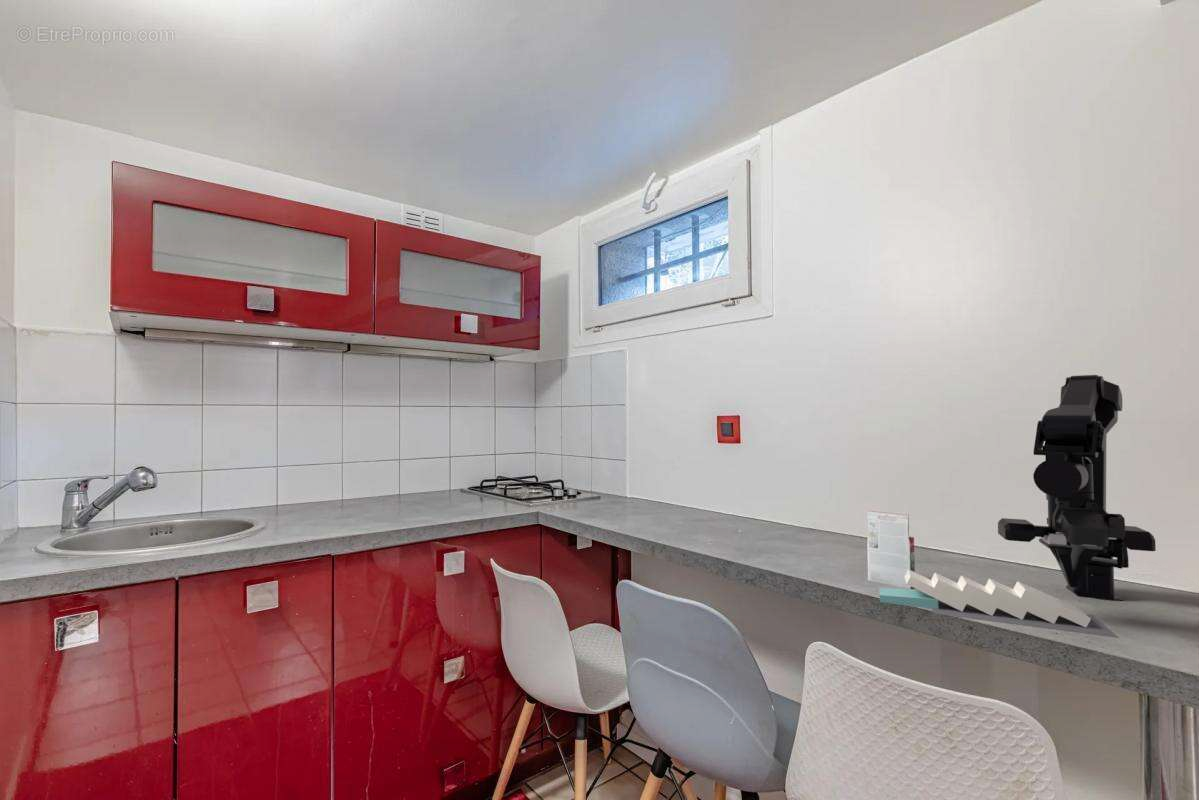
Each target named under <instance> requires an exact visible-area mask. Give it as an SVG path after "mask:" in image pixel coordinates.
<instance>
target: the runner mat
mask: <svg viewBox="0 0 1199 800" xmlns="http://www.w3.org/2000/svg"><path fill="white" fill-rule="evenodd" d="M938 608H939V609H932V608H931V610H932V613H933V614H934V615H940V616H949V617H955V618H963V619H964V618H965V619H969V620H978V621H986V622H987V621H988V622H992V623H993V622H995V623H1000V624H1001V623H1003V624H1010V625H1017V626H1019V625H1020V626H1024V627H1025V626H1027V627H1034V628H1040V629H1049V630H1056V631H1065V632H1072V633H1079V634H1087V635H1095V636H1102V637H1112V638H1118V639H1119V638H1120V636H1118V635H1117V634H1115V632H1113V631H1112V630H1111V629H1110V628H1109V627H1107V626H1106V625H1105V624H1104V623H1103V622H1101V621H1100V620H1099V619H1098V618H1097V617H1096V616H1094V615H1093V614H1086V613H1085V614H1086V615H1087V616H1088V617H1089V618H1090V619H1091V620H1090V622H1089V623H1088V625H1087V627H1083V626H1081V625H1079V624H1077V623H1075V622H1072V621H1070V620H1068V619H1066V618H1064V617H1062V616H1058V618H1057V620H1056V622H1055V623H1054V624H1053V623H1051V622H1049V621H1047V620H1045V619H1043V618H1040V617H1038V616H1036V615H1034V614H1032V613H1030V612H1026V614H1025V616H1024V618H1023V620H1021V619H1019V618H1017V617H1015V616H1013V615H1011V614H1009V613H1007V612H1005V611H1003V610H1001V609H998V608H996V610H995V612H994V614H993V616H991V615H989V614H987V613H985V612H983V611H981V610H979V609H977V608H975V607H973V606H971V605H969V604H966V606H965V608H964V610H963V611H960V610H958V609H956V608H954V607H952V606H950V605H948V604H946V603H944V602H942V601H940V600H938Z"/></svg>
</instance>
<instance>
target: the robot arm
mask: <svg viewBox="0 0 1199 800" xmlns="http://www.w3.org/2000/svg"><path fill="white" fill-rule="evenodd" d="M1122 411H1123V394H1122V390H1121V387H1120V386H1119V385H1118V384H1116V383H1112V382H1111V381H1110V382H1109V381H1107V380H1105V379H1104V376H1102V375H1098V374H1084V375H1081V374H1080V375H1071V376H1068V377H1066V378H1065V383H1064V384H1063V385H1062V386H1061V387H1060V402H1059V404H1058V407H1054V408H1051V409H1048V410H1047V411H1046V412H1045V413H1044V414H1043V416H1042V417H1041V418H1042V419H1041V420H1038V421H1037V425H1036V431H1035V438H1034V439H1035V440H1034V446H1033V456H1045V460H1044V461H1042V462H1041V463H1040V464H1039V463H1038V465H1037V466H1036V467H1035V469H1034V472H1033V474H1032V475H1033V481H1034V484H1035V485H1036V487H1037V488H1038V489H1039V490H1040V491H1041V492H1042V493H1044V494H1045V497H1046V498H1045V500H1046V501H1047V517H1046V525H1035V524H1033V523H1032V522H1030V521H1029V520H1027V519H1020V518H1019V519H1018V518H1008V517H1007V518H1006V517H1005V518H1004V517H1002V518H1000V519H999V521H998V522H997V535H999V536H1001V537H1002V538H1003V539H1004V540H1005V541H1010V542H1023V543H1030V542H1032V541H1033V540H1034V539H1036V537H1037V538H1038V542H1039V543H1040V544H1042V545H1044V546H1045V547H1046V548H1048V549H1049V550H1050V552H1051V553H1052V555H1053V557H1054V558H1055V560H1056V562H1057V565H1058V566H1059V568H1060V571H1061V573H1062V574H1063V577H1064V579H1065V581H1066V584H1067V585H1066V586H1065V588H1066V589H1067V590H1069V591H1070V592H1072V593H1073V594H1074V595H1076V596H1077V597H1079V598H1080V597H1081V598H1089V599H1098V600H1099V599H1100V600H1107V601H1108V600H1109V601H1115V602H1124V599H1123V598H1122V597H1120V596H1119V595H1118V594H1116V593H1115V575H1114V573H1115V569H1114V568H1117V569H1121V570H1122V569H1123V568H1124V569H1125V568H1126V569H1128V568H1129V566H1130V564H1129V551H1130V550H1131V551H1140V552H1141V551H1142V552H1143V551H1144V552H1155V551H1156V538H1155V537H1154V535H1153V534H1152V533H1151V532H1150V531H1148V530H1145V529H1142V528H1140V527H1138V526H1133V525H1132V526H1131V525H1126V522H1125V521H1126V520H1125V517H1124V516H1123V515H1122V514H1120V513H1108V511H1107V435H1108V433H1109V432H1110V431H1111V430H1112V429H1113V428H1114V426H1115V425H1116V424H1117V423H1118V420H1119V417H1118V416H1119V412H1122ZM1128 550H1129V551H1128Z"/></svg>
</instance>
